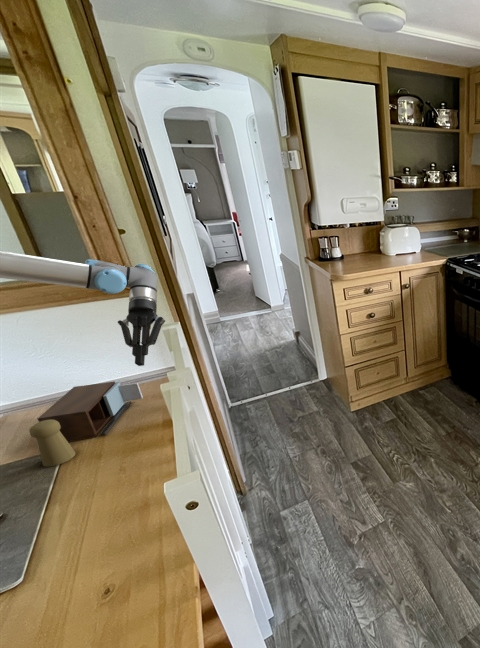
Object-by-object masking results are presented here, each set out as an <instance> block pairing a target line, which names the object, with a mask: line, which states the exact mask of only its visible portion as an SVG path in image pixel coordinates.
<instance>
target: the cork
mask: <svg viewBox="0 0 480 648" xmlns="http://www.w3.org/2000/svg"><path fill="white" fill-rule="evenodd" d="M59 430H60V423H59V422H58V421H56V420H44V421H41V422H39V421H38V422H36V423H34V424H32V425H31V427H30V428H29V435H30V436H31V437H32V438H33V439H35V440H36V444H37V447H38V451H39V455H40V458H41V463H42V466H43V467H47V468H48V467H54V466H55V467H56V466H59V465H61V464H65V463H66V462H68V461H70V460H71V459H73V458H74V457H75V456H76V451H75V450H74V448H73V447H72V445H71V444H70V443H69V442H67V440H66V439H65V438H64V436H63V435H62V433H61V432H60V431H59Z"/></svg>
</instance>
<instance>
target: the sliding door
mask: <svg viewBox="0 0 480 648" xmlns="http://www.w3.org/2000/svg"><path fill="white" fill-rule="evenodd" d="M103 398H104V401H105V403H106V406H107V408H108V411H109V413H110V416H113V417H115V416H116V414H117V413H118V412H119V411H120V410H121V408H122V407H123V406H124V405H125V404H126V402H129V401H137V400H142V399H144V396H143V394H142V390H141V388H140V385H139V382H132V383H131V382H130V383H124V384H121V382H120V381H115V384H114V385H113V386H112V387H111V389H110V390H109V391H108V392H107V393H106V394H105V395H104V396H103Z"/></svg>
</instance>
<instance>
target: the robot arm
mask: <svg viewBox="0 0 480 648" xmlns="http://www.w3.org/2000/svg"><path fill="white" fill-rule="evenodd" d="M121 265H122V264H118V265H117V263H113V262H107V261H103V260H96V259H91V258H88V259H86V260H85V261H84V263H80V262H74V261H68V260H62V259H55V258H48V257H43V256H37V255H30V254H23V253H17V252H11V251H6V250H5V251H4V250H0V279H7V280H13V281H14V280H15V281H23V282H31V283H39V284H48V285H55V286H64V287H73V288H82V289H87V290H88V289H89V290H94V291H95V290H96V291H101V292H103V293H105V294H109V295H111V294H112V295H113V294H114V295H115V294H118V293H121V292H122V291H124V290H125V289H126V288H129V296H128V311H127V312H128V314H127V315H126V318H125V319H123V320H121V319H119V320H118V321H117V324H118V325H119V326H120V328H121V331H122V335H123V340H124V343H125V345H127V346H128V347H129V348H132V351H131V354H132V356H134V364H135V365H136V366H138V367H143V366H145V358H146V356H148V355H149V347H150V346H155V345H156V343H157V341H158V337H159V334H160V332H161V329H162V326H163V325H164V324H165V322H166V320H165V318H164V317H163V316H158V314H157V310H158V309H157V306H158V305H157V304H158V303H157V302H158V285H157V283H158V284H159V280H158V281H157V277H156V274H155V272H154V271H153V270H152V269H151V267H149V266H148V265H144V264H138V265H136V266H135V267H125V266H126V265H124V266H121ZM128 280H129V281H128ZM129 323H130V324H131V325H132V335H131V330H130V327H129V325H130V324H129ZM152 324H153V326H152ZM151 326H152V329H151Z"/></svg>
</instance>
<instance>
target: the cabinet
mask: <svg viewBox="0 0 480 648" xmlns="http://www.w3.org/2000/svg"><path fill="white" fill-rule="evenodd" d="M115 383H116V381H108V382H100V383H99V382H98V383H92V384H85V385H75V386H73V387H72V388H71V389H69V390H68V391H67V392H66V393H65V394H63V396H61V397H60V398H59V399H58V400H57V401H56V402H55V403H53V404H52V405H51V406H50V407H48V409H46V410H45V411H44V412H43V413H42V414H41V415H40V416H38V417H37V421H38V422H41V421H44V420H56V421H58V422H59V423H60V430H59V431H60V432H61V433H62V435H63V436H64V438H65V439H66V440H67V442H68V443H69V442H74V441H80V440H85V439H91V438H97V436H98V435H99V434H100V436H101V437H104V436H107V434H108V433H109V432H110V431H111V430H112V428H113V427H114V426H115V424H116V423H117V422H118V421H119V420H120V418H121V417H122V416H123V414H124V413H125V412H126V410H127V409H128V408H129V407H130V406H131V405H132V402H131V401H132V400H130V401H126V402H125V403H124V404H123V406H122V407H121V408H120V409H119V410H118V412H117V413H116V414H115V415H114V416H110V413H109V411H108V408H107V406H106V403H105V401H104V398H103V396H104V395H105V394H106V393H107V392H108V391H109V390H110V389H111V387H112V386H113V385H114V384H115Z"/></svg>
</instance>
